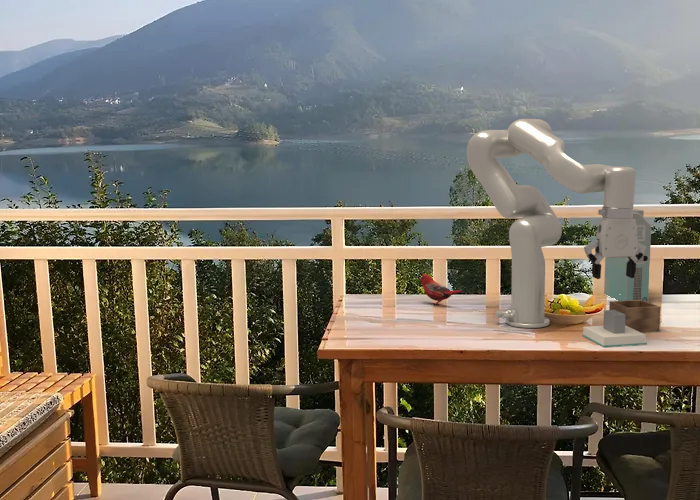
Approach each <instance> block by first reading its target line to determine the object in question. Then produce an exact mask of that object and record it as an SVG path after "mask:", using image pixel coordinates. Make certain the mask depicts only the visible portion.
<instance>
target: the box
mask: <svg viewBox="0 0 700 500" xmlns="http://www.w3.org/2000/svg"><path fill="white" fill-rule="evenodd" d="M608 305H609V306H608V307H609V308H608V310H616V311H618V312H620V313H623V314H625V325H626V326H628V327H630V328H632V329H634V330H636V331H639V332H641V333H654V332H655V333H656V332H660V331H661V330H660V328H661V306H659V305H658V304H654V303H652V302H649V301H648V302H646V301H644V300H625V301H616V300H610V301H609V304H608Z"/></svg>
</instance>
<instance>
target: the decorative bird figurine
mask: <svg viewBox="0 0 700 500" xmlns="http://www.w3.org/2000/svg"><path fill="white" fill-rule="evenodd" d="M419 281H421V285H422V288H423V290H424V293H425V295H426V296H427V297H428V298H429V299H431V300H433V301H434V302H430V304H431V305H433V304H437V305H436V306H439V305H440V306H441V305H442V304H441V302H442V301H443V300H448V299H449V298H450V297H452V296H453V295H456V294H459V293H462V292H463V290H451V289H450V288H448V287H446V286H445V285H443V284H441V283H439V282H437V281H435V280H434V279H433V278H432V277H431V276H430V275H429V274H427V273H423V274H422V275H421V277H420V278H419Z"/></svg>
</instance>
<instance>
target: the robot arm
mask: <svg viewBox="0 0 700 500" xmlns="http://www.w3.org/2000/svg"><path fill="white" fill-rule="evenodd" d="M565 144H566V143H565V142H564V140H563V139H561V138H559V137H558V136H556V135H554V134H553V131H552V127H551V126H550V124H549V123H548V122H546V121H545V120H542V119H540V118H519V119H516V120H515V121H513V122H512V123H511V124H510V125H509V126H508V128H507V129H487V130H481V131H478V132H477V133H475V134H473V135H472V137H470V139H469V141H468V143H467V146H466V157H467V158H466V159H467V163H468V165H469V168H470V169H471V171H472V173H473V175H475V178H476V179H477V180H478V181H479V183H480V185H481V186H482V188H483V190H484V191H485V193H486V195H487V196H488V198H489V199H490V201H491V202H492V204H493V205H494V207H495V209H496V210H497V212H498V213H499V216H502V217H503V218H505V219H516V220H515V221H513V222H512V224H511V225H510V227H509V231H508V239H509V245H510V251H511V253H510V254H511V299H510V300H511V304H510V305H511V306H507V309H506V310H499V311H498V310H497V311H495V313H494V316H495V318H496V319H497V318H498V319H499V318H502V319H505V323H506V324H507V325H508V326H512V327H516V328H521V329H522V328H524V329H539V328H545V327H547V326H549V325H550V323H551V322H550V319H549V318H548V317H545V304H546V303H545V301H546V300H545V299H546V292H545V291H546V261H545V255H544V253H543V252H544V251H543V249H542V248H545V247H550V246H552V245H556V244H557V242H558V241H560V239H561V237H562V234H563V233H562V232H563V230H562V224H561V222H560V220H559V218H558V217H557V215H556V213H555V212H554V210H553V209H552V207H551V205H550V204H549V203H548V201H547V200H546V197H545V196H544V194H543V193H542V192H541V191H540V190H539V189H538V188H536V187H534V186H532V185H528V184H522V185H521V184H517V183H516V182H515V180H514V179H513V178H512V177H511V174H510V173H509V172H508V170H507V168H505V167H504V166H503V165H502V164H501V163H500V162H498V160H497V159H510V158H513V157H514V158H515V157H517V156H520V155H524V154H526V155H527V156H529V157H531V158H532V159H533V160H534V161H536V162H537V163H539V164H540V165H542V166H543V167H544V168H545V170H546V172H547V173H548V174H549V176H550V177H551V178H552V179H553V180H554V181H556V182H557V183H558V184H560V185H562V186H563V187H565V188H566V189H568V190H569V191H571V192H574V193H577V194H590V193H603V201H602V202H603V204H602V208H601V209H598V215H600V216H601V217H600V219H599V222H598V225H597V229H596V234H595V240H594V241H592V242H591V243H588V244H587V245H585V246H584V247H583V250H584V252H585V256H586V257H587V258H588V260H589V261H590V262H591V263H592V264H591V275H592V277H593V278H594V279H597V280H600V279H601V277H602V264H601V262H602V260H603V259H605V257H607V258H618V257H627V258H628V260H629V261H627V267H626V276H628V277H630V278H634V275H635V272H636V263H638V260H639V259H640V258H641V257H642V256H643V253H644V252H645V250H646V248H647V247H646V246H645V245H643V244H641V243H639V242H637V226H636V220H635V219H633V209H634V203H635V189H636V174H637V173H636V169H635V168H633V167H631V166H618V165H617V166H613V165H612V166H611V165H608V164H601V163H596V164H594V163H593V164H592V163H590V164H582V163H579V162H578V161H576V160H574V159H573V158H571V157H570V156H568V154H566V153H565V152H564V151H565V149H566V146H565ZM637 247H638V252H637ZM593 249H594V252H595V253H594V254H593Z"/></svg>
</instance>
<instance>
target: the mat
mask: <svg viewBox="0 0 700 500" xmlns="http://www.w3.org/2000/svg"><path fill="white" fill-rule="evenodd" d="M582 337H583V338H586V339H587V340H590V341H591V342H592V343H593V342H594V343H595V344H597V345H599V346H601V347H602V346H603V348H610V347H609V346H616V347H623V346H622V345H632V346H639V345H638V344H646V345H647V342H646V343H638V344H622V345H606V346H604V345H602V344H600V343H598V342H596V341H594V340H592V339H590V338H589V337H587V336H585V335H583V334H582Z"/></svg>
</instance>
